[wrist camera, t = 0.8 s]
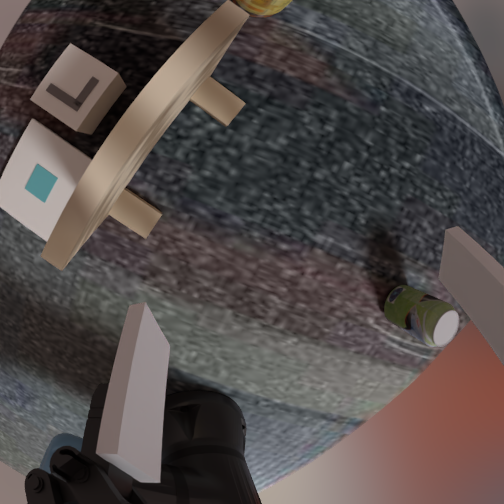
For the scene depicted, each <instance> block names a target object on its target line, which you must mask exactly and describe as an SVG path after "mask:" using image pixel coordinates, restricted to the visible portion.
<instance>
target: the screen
mask: <svg viewBox="0 0 504 504" xmlns="http://www.w3.org/2000/svg"><path fill="white" fill-rule="evenodd" d="M249 16H250V15H249V14H248V13H247V12H245V11H244V10H242V9H241V8H240V7H238V6H237V5H235V4H234V3H232V2H231V1H229V0H227V1H226V2H225V3H224V4H223V5H222V6H221V7H220V8H219V9H217V10H216V11H215V12H214V13H213V14H212V15H211V16H210V17H209V18H208V19H207V20H206V21H205V22H204V23H203V24H202V25H201V26H200V27H199V28H198V29H197V30H196V31H195V32H194V33H193V34H192V35H191V36H190V37H189V38H188V39H187V40H186V41H185V42H184V43H183V44H182V45H181V46H180V47H179V48H178V49H177V50H176V51H175V53H174V54H173V55H172V56H171V57H170V58H169V59H168V60H167V61H166V63H165V64H164V65H163V66H162V67H161V68H160V69H159V71H158V72H157V73H156V74H155V75H154V77H153V78H152V79H151V80H150V81H149V83H148V84H147V85H146V86H145V87H144V89H143V90H142V91H141V92H140V94H139V95H138V96H137V97H136V99H135V100H134V101H133V103H132V104H131V105H130V107H129V108H128V109H127V111H126V112H125V113H124V115H123V116H122V117H121V119H120V120H119V121H118V123H117V124H116V126H115V127H114V128H113V130H112V131H111V133H110V134H109V136H108V137H107V139H106V140H105V142H104V143H103V145H102V146H101V148H100V149H99V151H98V152H97V154H96V155H95V157H94V158H93V160H92V161H91V163H90V165H89V166H88V168H87V169H86V171H85V173H84V174H83V176H82V178H81V179H80V181H79V183H78V185H77V186H76V188H75V190H74V191H73V193H72V195H71V197H70V199H69V200H68V202H67V204H66V206H65V208H64V210H63V211H62V213H61V215H60V217H59V219H58V221H57V223H56V225H55V227H54V229H53V231H52V233H51V235H50V237H49V239H48V241H47V243H46V245H45V248H44V250H43V252H42V254H41V257H42V258H44V259H45V260H46V261H48V262H49V263H51V264H52V265H54V266H55V267H57V268H58V269H60V270H61V271H62V270H63V269H64V268H65V266H66V265H67V264H68V263H69V261H70V260H71V259H72V258H73V256H74V255H75V254H76V253H77V251H78V250H79V249H80V248H81V246H82V245H83V244H84V243H85V242H86V240H87V239H88V238H89V237H90V236H91V234H92V233H93V232H94V231H95V230H96V229H97V227H98V226H99V225H100V224H101V223H102V222H103V221H104V219H105V218H106V217H107V216H108V215H110V216H112V217H113V218H115V219H116V220H118V221H119V222H121V223H122V224H124V225H125V226H127V227H129V228H130V229H132V230H133V231H135V232H136V233H138V234H139V235H141V236H142V237H144V238H145V239H146V238H147V236H148V235H149V233H150V232H151V230H152V229H153V227H154V226H155V224H156V223H157V221H158V220H159V218H160V217H161V215H162V212H161V211H159V210H158V209H156V208H155V207H153V206H152V205H150V204H149V203H147V202H146V201H144V200H143V199H142V198H140V197H139V196H137V195H136V194H134V193H133V192H131V191H130V190H128V189H127V188H126V186H127V184H128V183H129V181H130V180H131V178H132V177H133V175H134V174H135V173H136V171H137V170H138V168H139V167H140V165H141V164H142V162H143V161H144V159H145V158H146V157H147V155H148V154H149V152H150V151H151V150H152V148H153V147H154V145H155V144H156V143H157V141H158V140H159V139H160V137H161V136H162V135H163V133H164V132H165V131H166V129H167V128H168V127H169V125H170V124H171V123H172V122H173V120H174V119H175V118H176V116H177V115H178V114H179V113H180V111H181V110H182V109H183V108H184V106H185V105H186V104H187V103H188V101H189V100H190V101H191V102H193V103H194V104H195V105H197V106H198V107H200V108H201V109H202V110H204V111H205V112H206V113H208V114H209V115H210V116H212V117H213V118H214V119H216V120H217V121H219V122H220V123H221V124H222V125H224V126H225V127H226V126H228V125H229V123H230V122H231V121H232V120H233V118H234V117H235V116H236V115H237V113H238V112H239V111H240V110H241V109H242V107H243V106H244V105H245V104H246V103H244V102H243V101H242V100H240V99H239V98H238V97H237V96H235V95H234V94H233V93H231V92H230V91H229V90H227V89H226V88H225V87H223V86H222V85H221V84H219V83H218V82H217V81H215V80H214V79H213V78H211V77H210V76H211V74H212V72H213V71H214V69H215V67H216V66H217V64H218V63H219V61H220V59H221V58H222V56H223V55H224V53H225V52H226V50H227V48H228V47H229V45H230V44H231V42H232V41H233V39H234V38H235V36H236V35H237V33H238V32H239V30H240V29H241V27H242V26H243V24H244V23H245V21H246V20H247V19H248V17H249Z"/></svg>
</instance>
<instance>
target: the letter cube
mask: <svg viewBox="0 0 504 504" xmlns="http://www.w3.org/2000/svg"><path fill="white" fill-rule="evenodd" d="M126 87H127V86H126V85H125V83H124V81H123V80H122V78H121V77H120V75H119V73H117V72H116V71H114V70H113V69H111V68H110V67H108V66H107V65H105V64H103V63H102V62H100V61H99V60H97V59H95V58H94V57H92V56H91V55H89V54H87V53H86V52H84V51H82V50H81V49H79V48H77V47H76V46H74V45H72V44H71V43H70V44H69V46H68V47H67V48H66V49H65V51H64V52H63V53H62V54H61V56H60V57H59V58H58V60H57V61H56V62H55V64H54V65H53V66H52V68H51V69H50V70H49V72H48V73H47V75H46V76H45V78H44V79H43V80H42V82H41V83H40V85H39V86H38V88H37V89H36V91H35V92H34V94H33V95H32V97H31V99H30V100H31V101H33V102H34V103H36V104H37V105H39V106H40V107H41V108H43V109H44V110H46V111H47V112H49V113H50V114H52V115H53V116H55V117H56V118H57V119H59V120H60V121H62V122H63V123H65V124H66V125H68V126H69V127H71V128H72V129H73V130H75V131H77V132H82V133H86V134H91V135H92V134H93V132H94V131H95V129H96V128H97V126H98V125H99V123H100V122H101V121H102V119H103V118H104V116H105V115H106V114H107V112H108V111H109V109H110V108H111V107H112V105H113V104H114V103H115V101H116V100H117V99H118V97H119V96H120V95H121V93H122V92H123V91H124V90H125V88H126Z"/></svg>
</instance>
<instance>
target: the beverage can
mask: <svg viewBox="0 0 504 504" xmlns="http://www.w3.org/2000/svg"><path fill="white" fill-rule="evenodd" d="M384 313H385V316H386V318H387V320H388V321H390V322H391V323H393V324H394V325H396V326H398V327H399V328H401V329H403V330H404V331H406V332H407V333H409V334H411V335H412V336H414V337H415V338H417V339H419V340H420V341H422V342H423V343H425V344H427V345H428V346H431V347H436V346H439V347H442V346H445V345H447V344H448V343H449V342H450V341H451V340H452V339H453V337H454V336H455V334H456V332H457V329H458V326H459V316H458V314H457V312H456V311H455V309H454V308H453V306H452V305H451V304H449V303H447V302H444V301H442V300H440V299H438V298H435V297H433V296H431V295H428V294H426V293H424V292H421V291H419V290H416V289H414V288H412V287H409V286H407V285H400V286H398V287H396V288H394V289H393V290H392V291H391V292H390V294H389V295H388V297H387V299H386V302H385V306H384Z"/></svg>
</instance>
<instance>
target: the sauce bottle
mask: <svg viewBox="0 0 504 504" xmlns="http://www.w3.org/2000/svg"><path fill="white" fill-rule="evenodd" d="M291 1H292V0H233V3H234V4H235V5H237V6H238V7H240V8H241V9H242V10H244V11H245V12H247V13H248V14H249V15H250V16H251V17H270V16H272V15H274V14H275V13H278V12H280V11H281V10H283V9H284V8H285V7H286V6H287V5H288V4H289V3H290V2H291Z"/></svg>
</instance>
